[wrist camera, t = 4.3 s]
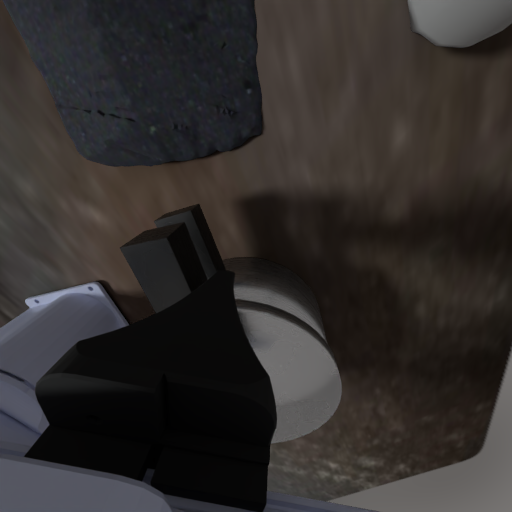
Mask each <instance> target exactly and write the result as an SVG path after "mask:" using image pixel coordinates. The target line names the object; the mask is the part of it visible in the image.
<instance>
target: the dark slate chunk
mask: <svg viewBox="0 0 512 512" xmlns="http://www.w3.org/2000/svg"><path fill="white" fill-rule="evenodd" d="M3 2H4V4H5V6H6V8H7V10H8V12H9V14H10V16H11V18H12V20H13V22H14V24H15V26H16V27H17V29H18V30H19V32H20V34H21V36H22V37H23V39H24V40H25V43H26V45H27V47H28V49H29V52H30V56H31V59H32V60H33V62H34V63H35V65H36V67H37V68H38V70H39V71H40V72H41V74H42V76H43V78H44V80H45V81H46V83H47V85H48V88H49V90H50V92H51V95H52V97H53V99H54V101H55V105H56V107H57V110H58V112H59V114H60V117H61V119H62V121H63V124H64V126H65V128H66V130H67V132H68V134H69V136H70V137H71V139H72V140H73V142H74V144H75V147H76V149H77V151H78V152H79V153H80V154H81V155H82V156H83V157H84V158H86V159H88V160H90V161H93V162H97V163H101V164H104V165H108V166H135V165H146V166H153V165H160V164H162V163H166V162H169V161H186V160H193V159H196V158H199V157H204V156H206V155H210V154H212V153H214V152H215V151H216V150H218V151H221V152H224V151H231V150H232V149H233V148H235V147H238V146H241V145H242V144H243V143H244V142H245V141H246V140H247V139H248V138H249V137H251V136H253V135H260V134H261V130H262V116H261V103H262V94H261V87H260V83H259V78H258V71H257V67H256V54H257V48H258V43H257V40H256V30H257V21H256V15H255V11H254V0H3Z"/></svg>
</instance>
